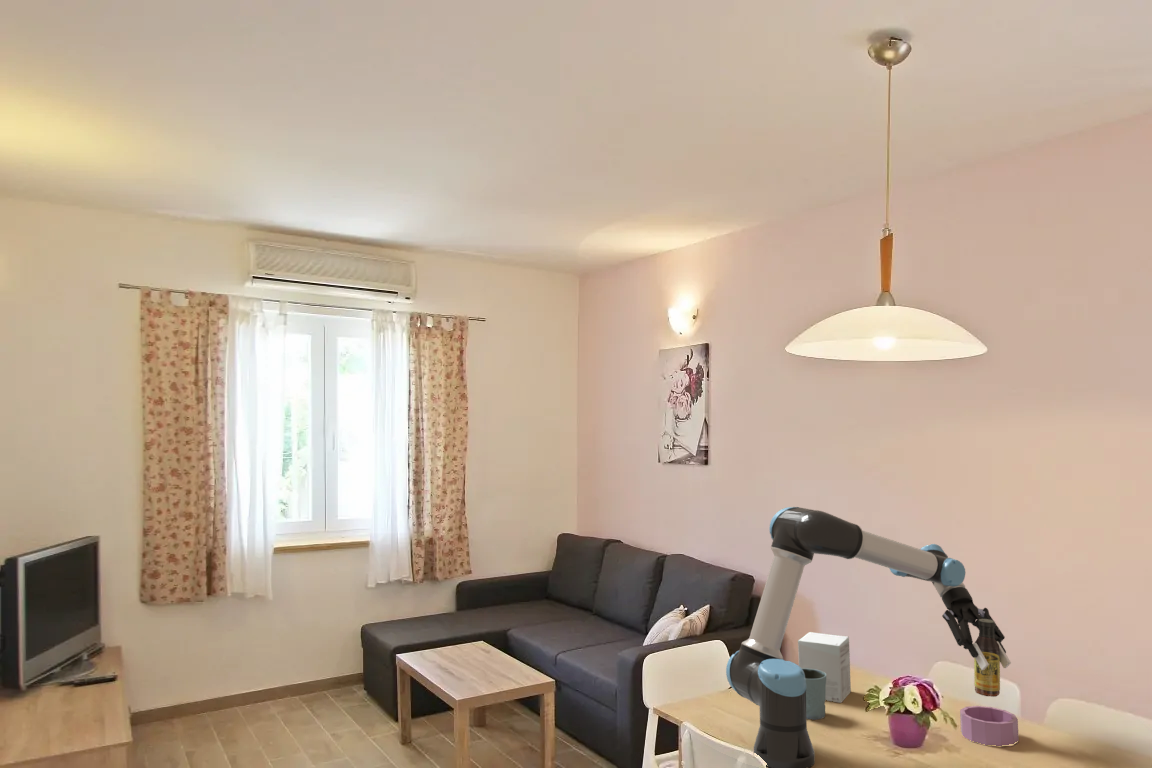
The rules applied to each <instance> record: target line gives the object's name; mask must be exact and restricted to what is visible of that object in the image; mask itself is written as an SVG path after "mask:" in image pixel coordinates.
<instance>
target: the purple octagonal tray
mask: <svg viewBox="0 0 1152 768" xmlns="http://www.w3.org/2000/svg"><path fill="white" fill-rule="evenodd" d="M959 712H960V713H959V714H960V717H959V718H960V733H961V732H962V733H961V736H962V735H963V736H964V737H965V738H964V737H963V736H962V737H963V738H964V739H966V738H967V739H966V740H968V739H969V740H968V741H970V740H971V741H970V742H972V741H974V742H973V743H975V742H978V743H981V744H980V745H982V744H985V745H984V746H986V745H996V746H1002V745H1009V744H1014V743H1015V742H1017V741H1020V739H1019V737H1020V736H1019V721H1018V717H1017V716H1016V715H1015V714H1014V713H1012V712H1009V711H1007V710H1005V709H1001V708H997V707H992V706H982V705H973V706H964V707H963V708H961V709H959ZM978 743H977V744H978Z"/></svg>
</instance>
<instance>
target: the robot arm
mask: <svg viewBox="0 0 1152 768" xmlns="http://www.w3.org/2000/svg"><path fill="white" fill-rule="evenodd" d="M768 531H769V534H770V538H771V540H772V541H771V546H770V550H771V551H772V553H773V559H772V562H771V565H770V568H769V572H768V575H767V578H766V580H765V581H766V582H765V584H764V585H765V586H764V588H763V591H762V594H761V598H760V601H759V604H758V608H757V611H756V615H755V617H754V621H753V624H752V628H751V630H750V635H749V638H747V639H746V640H744V641H742V642H741V645H740V647H739V650H737V651H735V653H732V654H731V656H730V657H729V659H728V661H727V664H726V669H725V673H726V674H725V675H726V679H727V682H728V684H729V686H730V687H731V688H732V689H733V690H734V691H735V692H736V694H737V695H739V696H740V697H741V698H745V699H747V700H748V701H750V702H751V703H753V704H755V705H757V706H758V707H759V726H758V727H759V728H758V731H757V734H756V738H755V741H754V745H753V754H754V753H756V754H757V755H759V756H760V757H761V758H762V759H763V760H764V761H765V762H766V763H767V765H768V768H811V767H813V765H814V764H815V762H816V755H815V754H816V753H815V750H814V746H813V743H812V741H811V737H810V734H809V732H808V725H807V724H808V723H807V720H808V719H807V718H806V680H805V674H804V671H803V670H802V668H801V667H800V666H799V664H796V663H795V662H793V661H790V660H785V659H784V657H783V655H782V653H781V647H782V643H783V640H784V637H785V633H786V631H787V630H786V629H787V627H788V623H789V619H790V616H791V614H792V609H793V607H794V604H795V600H796V595H797V593H798V589H799V585H800V582H801V579H802V575H803V573H804V568H805V566H807V565H808V564H811V563H812V562H813V560H814V559H813V558H814V556H815V555H825V556H826V555H827V556H833V557H839V558H843V559H845V560H852V559H854V558H855V559H859V560H862V561H865V562H868V563H871V564H875V565H878V566H882V567H883V568H884V567H885V568H888V569H889V571H890V573H892V574H893V575H894V576H898V577H903V578H908V577H909V578H913V579H916V580H921V581H926V582H931V583H932V585H933V587H934V588H935V590H936V593H938V595H939V597H940V598H941V601H942V602H943V604H944V606H945V608H946V609H947V610H945V611H944V612H943V614H942V616H941V617H942V618H943V619H944V621H945V622H946V623H947V625H948V627H949V629H950V632H951V634H952V635H953V637H954V640H955V641H956V643H957V646H959V647H962V646H963V649H965V650H968V652H969V654H970V656H971V657H972V658H973V659H974V658H975V659H976V661H977V663H978V664H979V666H980V668H981V670H985V669H986V667H987V666H988V665H989V664H988V662H987V661H986V659H985V657H984V655H983V654H982V652H981V650H980V648H979V647H978V645H977V643H975V642H974V641H973V638H972V637H973V636H972V633H971V629H970V624H971V625H972V626H973V627H976V629H978V630H979V624H978V620H979V619H989V620H993V621H995V620H994V618H993V617H992V616H991V614H990V612H989V609H988V607H984V608H978V606H976V605H975V604H974V601H973V597H972V595H971V593H970V592H969V591H968V589H967V588H966V585H965V584H964V581H965V578H966V568H965V566H964V564H963V563H962V562H961V561H960V560H958V559H954V558H953V557H949V555H948V554H947V553H946V552H945V550H943V549H944V548H942V546H940V544H939V545H938V544H936V543H932V544H931V543H930V544H929V545H928V544H926V545H924V546H922V547H921V548H918V547H914V546H912V545H908V544H905V543H902V542H899V541H897V540H893V539H889V538H886V537H884V536H881V535H877V534H875V533H871V532H868V531H865V530H862V527H861V526H860V525H858V524H856V523H852V522H850V521H848V520H845V519H843V518H841V517H838V516H835V515H834V514H831V513H829V512H826V511H822V510H817V509H811V508H805V507H798V506H791V507H790V506H789V507H785V508H782V509H779V511H777V512H776V513H775V514H774V515H773V516H772V518H771V520H770V523H769V530H768ZM994 635H995V640H996V641H997V643H998V645H999V657H1000V665H1001V666H1002V668H1003V669H1007V668H1008V667H1009V666H1010V665H1011V664H1012V662H1011V660H1010V659H1009V657H1008V655H1007V650H1006V649H1005V647H1004V645H1003V644H1002V642H1003V641H1004V640H1005V635H1004V633H1003V632H1002V631H1001V630H1000V628H999V626H998V625H997V623H996V622H995V627H994Z"/></svg>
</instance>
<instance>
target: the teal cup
mask: <svg viewBox="0 0 1152 768" xmlns="http://www.w3.org/2000/svg"><path fill="white" fill-rule="evenodd" d="M802 670H803V671H804V674H805V680H806V718H807V720H811V719H812V721H813V720H821V719H824V718H825V716H826V700H825V696H826V693H825V692H826V673H824V672H822V671H820V670H816V669H808V668H803V669H802Z"/></svg>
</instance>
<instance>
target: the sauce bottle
mask: <svg viewBox="0 0 1152 768" xmlns="http://www.w3.org/2000/svg"><path fill="white" fill-rule="evenodd" d="M993 620H994V619H993ZM993 620H989V619H979V620H978V624H979V629H978V631H979V633H978V636H977V639H976V640H975V641H974V643H977V645H978V647H979V648H980V650H981V652H982V654H983V655H984V657H985V659H986V661H987V662H988V664H989V665H988V666H987V667H986V669H985V670H981V668H980V666H979V664H978V663H977V661H976V659H975V658H973V659H974V660H973V661H974V662H973V666H974V667H973V668H974V671H973V672H974V673H973V674H974V676H973V677H974V681H973V682H974V683H973V684H974V691H975V693H976V694H978V695H981V696H983V697H992V698H994V697H998V696H999V695H1000V693H1001V692H1000V691H1001V671H1000V670H1001V663H1000V657H999V645H998V643H997V641H996V640H995V635H994V627H995V623H996V621H995V620H994V621H993Z"/></svg>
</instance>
